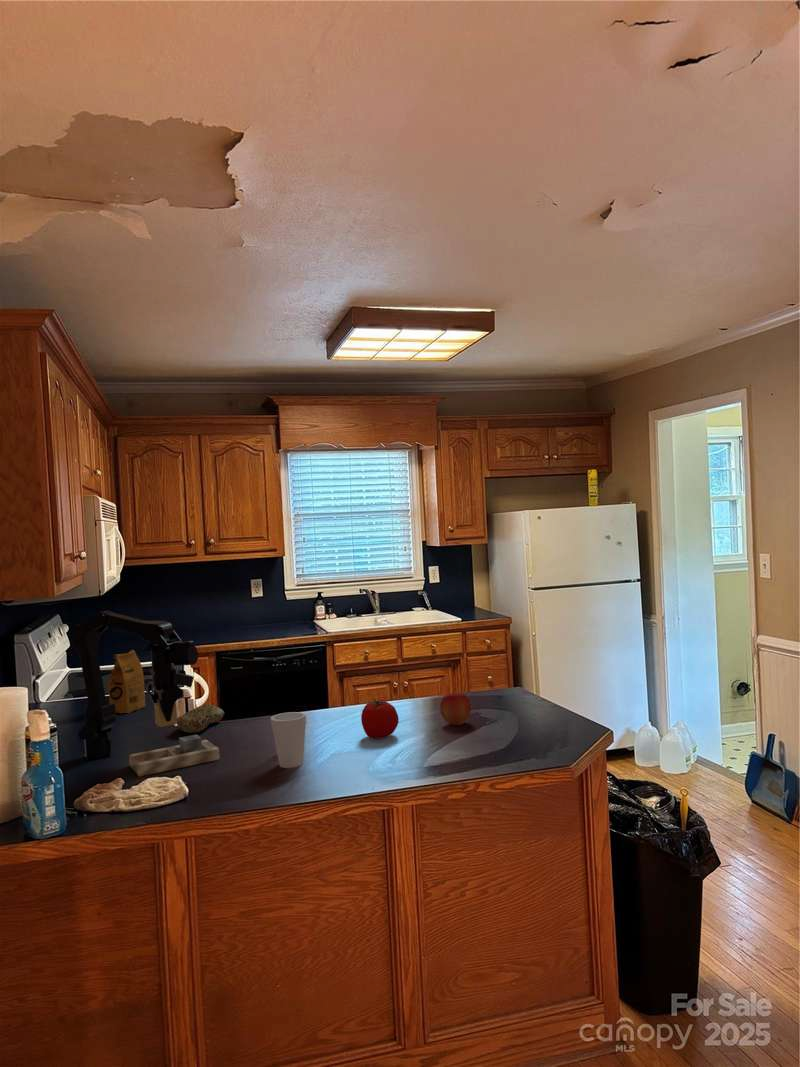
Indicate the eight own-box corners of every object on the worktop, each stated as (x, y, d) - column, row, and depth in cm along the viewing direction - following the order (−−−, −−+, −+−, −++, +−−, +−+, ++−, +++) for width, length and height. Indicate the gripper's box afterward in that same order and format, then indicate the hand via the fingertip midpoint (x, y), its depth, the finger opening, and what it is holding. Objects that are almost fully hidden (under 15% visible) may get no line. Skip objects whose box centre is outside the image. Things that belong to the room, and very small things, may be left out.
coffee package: (105, 714, 282) (101, 655, 282) (129, 706, 294) (125, 649, 294) (126, 715, 279) (122, 655, 278) (149, 706, 290) (145, 649, 290)
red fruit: (375, 730, 234) (372, 694, 234) (407, 733, 228) (404, 696, 228) (353, 741, 224) (350, 703, 224) (386, 744, 218) (383, 706, 218)
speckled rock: (201, 724, 263) (160, 727, 245) (206, 701, 264) (165, 702, 246) (230, 733, 257) (190, 737, 239) (235, 710, 257) (196, 712, 240)
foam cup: (310, 757, 210) (307, 711, 210) (307, 768, 201) (304, 719, 201) (276, 760, 210) (272, 713, 210) (271, 770, 201) (268, 722, 200)
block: (160, 727, 216) (158, 706, 216) (155, 723, 220) (154, 703, 220) (177, 723, 219) (176, 702, 219) (172, 720, 223) (171, 700, 223)
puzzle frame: (139, 776, 203) (137, 754, 203) (129, 765, 214) (128, 744, 214) (219, 759, 214) (218, 738, 214) (206, 749, 225) (205, 729, 225)
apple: (477, 725, 233) (475, 692, 233) (449, 730, 229) (447, 697, 229) (463, 718, 242) (461, 687, 242) (436, 723, 238) (434, 691, 238)
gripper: (199, 665, 216) (203, 719, 216) (180, 658, 231) (184, 709, 231) (160, 671, 210) (163, 727, 210) (143, 663, 225) (146, 716, 225)
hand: (165, 719), depth 219 cm, fingers closed on block, 5 cm apart
